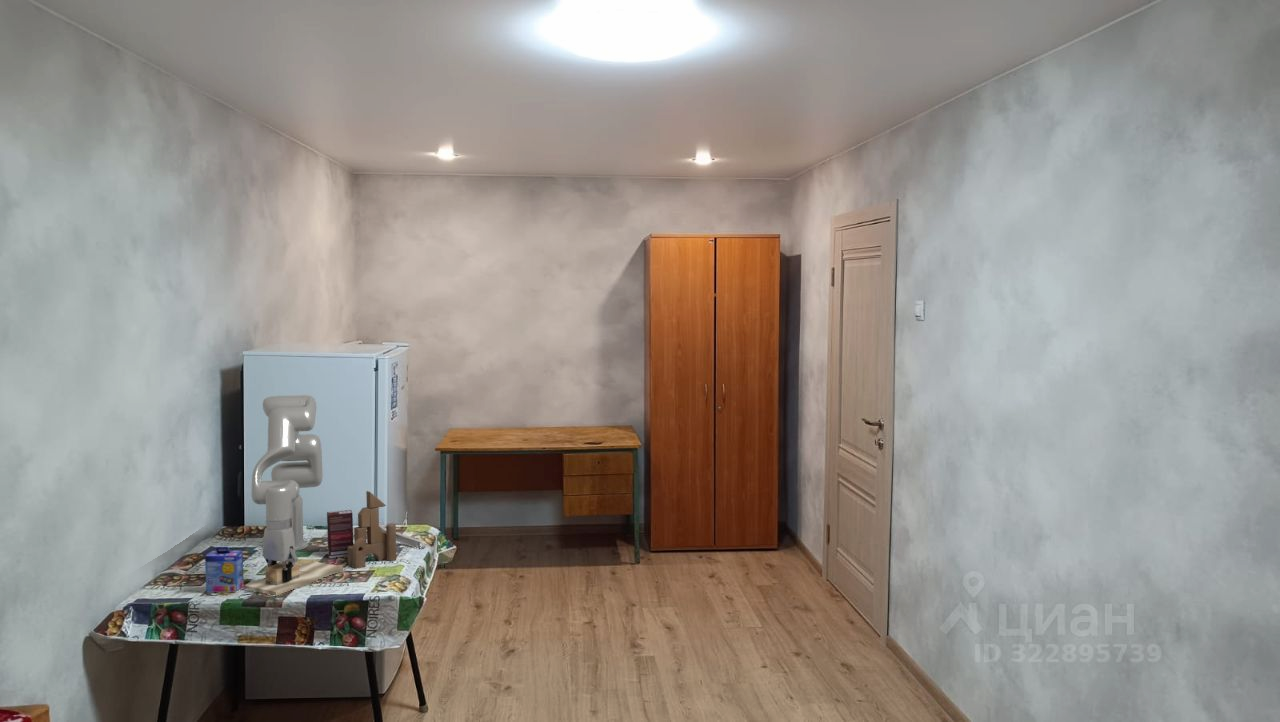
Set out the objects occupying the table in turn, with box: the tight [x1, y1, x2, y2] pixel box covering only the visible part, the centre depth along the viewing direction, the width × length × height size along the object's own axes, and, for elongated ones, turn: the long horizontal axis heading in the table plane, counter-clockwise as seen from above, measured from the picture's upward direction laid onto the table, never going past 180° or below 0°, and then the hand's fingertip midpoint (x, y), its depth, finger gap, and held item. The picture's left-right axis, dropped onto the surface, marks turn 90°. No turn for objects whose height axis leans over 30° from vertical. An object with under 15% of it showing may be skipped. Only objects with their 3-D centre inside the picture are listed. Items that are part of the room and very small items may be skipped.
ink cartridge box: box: [204, 546, 245, 594], centre depth 273 cm, size 10×6×14 cm, turn 95°
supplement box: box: [326, 509, 354, 559], centre depth 310 cm, size 9×5×16 cm, turn 113°
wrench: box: [379, 522, 426, 550], centre depth 327 cm, size 8×2×30 cm
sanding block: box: [264, 561, 300, 585], centre depth 279 cm, size 5×9×5 cm, turn 155°
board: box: [243, 560, 344, 597], centre depth 284 cm, size 14×28×2 cm, turn 154°
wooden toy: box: [347, 490, 397, 569], centre depth 302 cm, size 15×7×25 cm, turn 132°
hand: (280, 579), depth 278 cm, fingers closed on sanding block, 5 cm apart
